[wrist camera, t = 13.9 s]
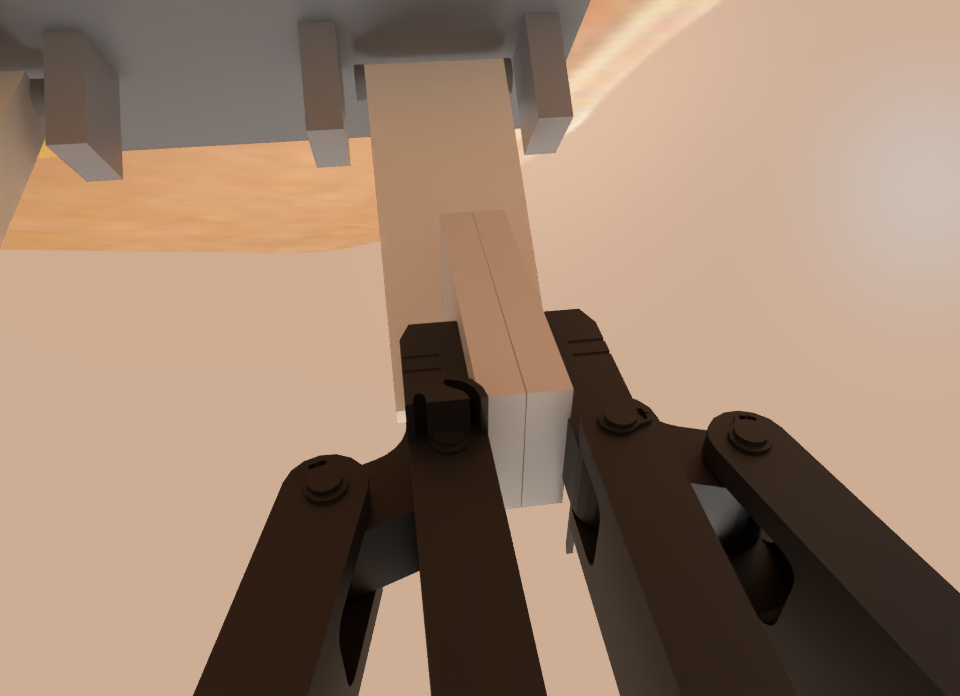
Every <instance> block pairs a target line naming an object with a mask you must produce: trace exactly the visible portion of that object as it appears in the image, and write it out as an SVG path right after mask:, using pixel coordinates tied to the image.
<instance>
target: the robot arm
mask: <svg viewBox="0 0 960 696" xmlns="http://www.w3.org/2000/svg"><path fill="white" fill-rule="evenodd" d="M439 218H440V242H441V267H442V291H443V312H444V318H445V322H433V323H421V324H409V325H408V326H407V328H406V330H405V331H404V333H403V335H402V337H401V338H400V340H399V342H400V353H401V365H402V377H403V388H404V400H405V414H406V432H405V435H404V437H403V439H402V441H401V442H400V443H399V444H398V446H397V447H396V448H395V449H394V450H392V451H391V452H389V453H388V454H387V455H385V456H383V457H381V458H378V459H377V460H374V461H371V462H369V463H366V464H363V465H361V464H359V463H358V462H357V461H355V460H354V459H352V458H350V457H346V456H341V455H337V454H335V455H322V456H318V457H315V458H312V459H309V460H307V461H304V462H303V463H301V464H300V465H298V466H297V467H296V468H294V469H293V470H291V472H290V473H289V475H288V476H287V478H286V479H285V480H284V482H283V484H282V486H281V488H280V491H279V493H278V496H277V498H276V501H275V503H274V505H273V508H272V510H271V512H270V515H269V517H268V519H267V522H266V524H265V526H264V529H263V531H262V533H261V536H260V538H259V541H258V543H257V545H256V548H255V550H254V552H253V555H252V557H251V559H250V562H249V564H248V567H247V569H246V572H245V574H244V576H243V579H242V581H241V583H240V586H239V588H238V590H237V593H236V595H235V598H234V600H233V602H232V605H231V607H230V610H229V612H228V614H227V616H226V619H225V621H224V623H223V626H222V628H221V631H220V633H219V635H218V638H217V640H216V643H215V645H214V647H213V650H212V652H211V654H210V657H209V659H208V661H207V664H206V666H205V668H204V671H203V673H202V676H201V678H200V680H199V683H198V685H197V687H196V690H195V693H194V694H193V696H358V694H359V690H360V686H361V682H362V677H363V673H364V669H365V664H366V660H367V656H368V652H369V647H370V643H371V639H372V634H373V630H374V626H375V621H376V617H377V613H378V608H379V604H380V600H381V596H382V592H383V587H384V586H386V585H388V584H391V583H393V582H395V581H397V580H400V579H402V578H404V577H406V576H409V575H411V574H413V573H415V572H417V571H420V581H421V591H422V601H423V613H424V624H425V634H426V646H427V655H428V656H427V657H428V667H429V678H430V689H431V696H547V693H546V689H545V684H544V680H543V676H542V671H541V667H540V663H539V658H538V654H537V649H536V644H535V640H534V636H533V631H532V627H531V622H530V618H529V614H528V609H527V604H526V600H525V596H524V591H523V587H522V582H521V578H520V574H519V569H518V564H517V560H516V556H515V551H514V547H513V542H512V538H511V533H510V529H509V524H508V520H507V516H506V511H505V509H510V508H518V507H528V506H536V505H546V504H554V503H562V499H563V489H564V488H563V487H564V484H565V487H566V491H567V494H568V497H569V500H570V513H569V521H568V530H567V539H566V553H567V554H568V553H573V545H574V543H575V546H576V549H577V553H578V556H579V559H580V563H581V566H582V570H583V573H584V576H585V579H586V583H587V586H588V590H589V593H590V596H591V599H592V603H593V606H594V610H595V613H596V616H597V620H598V623H599V626H600V630H601V633H602V636H603V640H604V643H605V646H606V650H607V653H608V656H609V660H610V663H611V666H612V670H613V673H614V676H615V680H616V683H617V686H618V690H619V693H620V696H960V593H959V592H958V591H957V590H956V589H955V588H953V586H952V585H950V584H949V583H948V582H947V581H946V580H945V579H944V578H943V577H942V576H941V575H940V574H939V573H938V572H936V571H935V570H934V569H933V568H932V567H931V566H930V565H929V564H928V563H927V562H925V560H923V558H921V557H920V556H919V555H918V554H917V553H916V552H915V551H914V550H912V548H911V547H909V546H908V545H907V544H906V543H905V542H904V541H903V540H902V539H901V538H900V537H899V536H898V535H897V534H896V533H894V532H893V531H892V530H891V529H890V528H889V527H888V526H887V525H886V524H885V523H884V522H883V521H882V520H880V518H878V517H877V516H876V515H875V514H874V513H873V512H872V511H871V510H870V509H869V508H868V507H867V506H866V505H864V504H863V503H862V502H861V501H860V500H859V499H858V498H857V497H856V496H855V495H854V494H853V493H852V492H851V491H849V490H848V489H847V488H846V487H845V486H844V485H843V484H842V483H841V482H840V481H839V480H838V479H836V478H835V477H834V476H833V475H832V474H831V473H830V472H829V471H828V470H827V469H826V468H825V467H824V466H823V465H821V464H820V463H819V462H818V461H817V460H816V459H815V458H814V457H813V456H812V455H811V454H810V453H809V452H808V451H806V450H805V449H804V448H803V447H802V446H801V445H800V444H799V443H798V442H797V441H796V440H795V439H794V438H792V437H791V436H790V435H789V434H788V433H787V432H786V431H785V430H784V429H783V428H782V427H780V426H779V425H777V424H776V423H774V422H773V421H772V420H770V419H768V418H766V417H763V416H760V415H758V414H755V413H750V412H743V411H733V412H726V413H722V414H721V415H719V416H717V417H715V418H713V420H712V421H711V423H710V425H709V426H708V429H707V430H699V429H692V428H685V427H678V426H673V425H669V424H665V423H663V422H660V421H659V419H658V417H657V416H656V415H655V414H654V412H653V411H652V410H651V409H650V408H649V407H648V406H646V405H644V404H643V403H641V402H640V401H638V400H635V399H632V396H631V394H630V393H629V390H628V388H627V386H626V384H625V382H624V380H623V378H622V376H621V374H620V372H619V370H618V368H617V366H616V363H615V361H614V360H613V357H612V355H611V354H610V353H609V349H608V347H607V345H606V343H605V341H603V337H602V335H601V332H600V330H599V328H598V326H597V324H596V322H595V321H594V320H592V319H591V318H590V317H589V316H587V315H586V314H585V313H583V312H582V311H581V310H580V309H570V310H560V311H546V312H544V311H543V309H542V306H541V303H540V301H539V298H538V296H537V293H536V291H535V288H534V285H533V283H532V280H531V278H530V275H529V273H528V270H527V267H526V265H525V262H524V260H523V257H522V255H521V252H520V249H519V247H518V244H517V242H516V239H515V236H514V234H513V231H512V229H511V226H510V224H509V221H508V218H507V216H506V213H505V211H504V210H490V211H475V212H459V213H444V214H439Z"/></svg>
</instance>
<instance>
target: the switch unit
mask: <svg viewBox="0 0 960 696" xmlns="http://www.w3.org/2000/svg"><path fill="white" fill-rule="evenodd" d="M589 3H590V0H0V72H10V71H26V73H27V75H28V77H29V79H40V78H44V101H45V140H44V143H43V145H42V147H41V150H40V152H39V155H38V157H37V158H55V157H59V158H61V159H62V160H63V161H64V162H65V163H66V164H67V165H69V166H70V167H71V168H72V169H73V170H74V171H75V172H77V173H78V174H79V175H80V176H81V177H82V178H83V179H85V180H86V181H87V182H89V181H106V180H122V179H123V167H122V151H128V150H146V149H163V148H181V147H199V146H216V145H234V144H252V143H270V142H287V141H305V140H309V142H310V145H311V149H312V152H313V155H314V159H315V162H316V165H317V168H318V167H334V166H350V154H349V143H348V138H358V137H371V135H370V124H369V113H368V102H367V101H357V96H356V87H355V77H354V65H359V64H382V63H404V62H427V61H450V60H473V59H496V58H510V59H511V61H512V67H513V88H512V92H511V94H509V97H510V104H511V110H512V116H513V123H514V129H518V128H521V133H522V141H523V149H524V155H530V154H547V153H555V152H556V150H557V148H558V146H559V144H560V142H561V140H562V138H563V136H564V134H565V132H566V130H567V128H568V126H569V124H570V122H571V120H572V118H573V111H572V104H571V96H570V89H569V82H568V75H567V68H566V59H567V57H568V54H569V52H570V49H571V47H572V44H573V42H574V39H575V37H576V35H577V32H578V30H579V27H580V25H581V22H582V20H583V17H584V15H585V12H586V10H587V7H588V5H589Z"/></svg>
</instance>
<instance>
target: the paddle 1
mask: <svg viewBox="0 0 960 696" xmlns="http://www.w3.org/2000/svg"><path fill="white" fill-rule="evenodd" d="M44 140H45V101H44V78H40V79H29V77H28V75H27V73H26V71H10V72H0V245H1V243H2V241H3V238H4V236H5V233H6V231H7V229H8V226H9V224H10V222H11V219H12V217H13V214H14V212H15V210H16V207H17V205H18V202H19V200H20V198H21V195H22V193H23V190H24V188H25V186H26V183H27V181H28V178H29V176H30V174H31V171H32V169H33V167H34V164H35V162H36V159H37V157H38V155H39V152H40V150H41V147H42V145H43V143H44Z"/></svg>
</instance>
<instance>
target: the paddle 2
mask: <svg viewBox="0 0 960 696" xmlns="http://www.w3.org/2000/svg"><path fill="white" fill-rule="evenodd" d="M354 77H355V87H356V96H357V101H367V102H368V113H369V124H370V135H371V145H372V156H373V167H374V177H375V188H376V199H377V209H378V220H379V231H380V241H381V252H382V263H383V272H384V284H385V295H386V306H387V316H388V327H389V337H390V348H391V359H392V370H393V380H394V391H395V401H396V412H397V421H398V423H403V422H406V414H405V400H404V388H403V377H402V365H401V353H400V342H399V340H400V338H401V337H402V335H403V333H404V331H405V330H406V328H407V326H408V325H409V324H421V323H433V322H445V318H444V312H443V291H442V267H441V242H440V218H439V214H444V213H459V212H475V211H490V210H504V211H505V213H506V216H507V218H508V221H509V224H510V226H511V229H512V231H513V234H514V236H515V239H516V242H517V244H518V247H519V249H520V252H521V255H522V257H523V260H524V262H525V265H526V267H527V270H528V273H529V275H530V278H531V280H532V283H533V285H534V288H535V291H536V293H537V296H538V298H539V301H540V303H541V306H542V301H541V295H540V289H539V282H538V276H537V270H536V263H535V257H534V250H533V245H532V238H531V231H530V225H529V219H528V213H527V206H526V200H525V193H524V187H523V180H522V174H521V168H520V161H519V155H518V148H517V142H516V136H515V129H514V123H513V116H512V110H511V104H510V97H509V94H511V92H512V88H513V67H512V61H511V59H510V58H496V59H473V60H450V61H427V62H404V63H382V64H359V65H354ZM542 309H543V308H542Z"/></svg>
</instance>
